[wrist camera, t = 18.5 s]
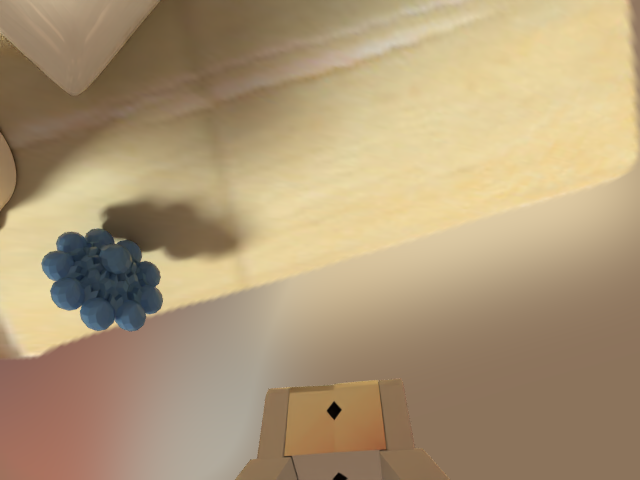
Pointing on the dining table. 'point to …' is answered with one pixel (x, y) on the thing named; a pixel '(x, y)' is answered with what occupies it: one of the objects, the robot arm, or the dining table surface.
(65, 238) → the grapes
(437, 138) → the dining table surface
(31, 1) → the square plate
